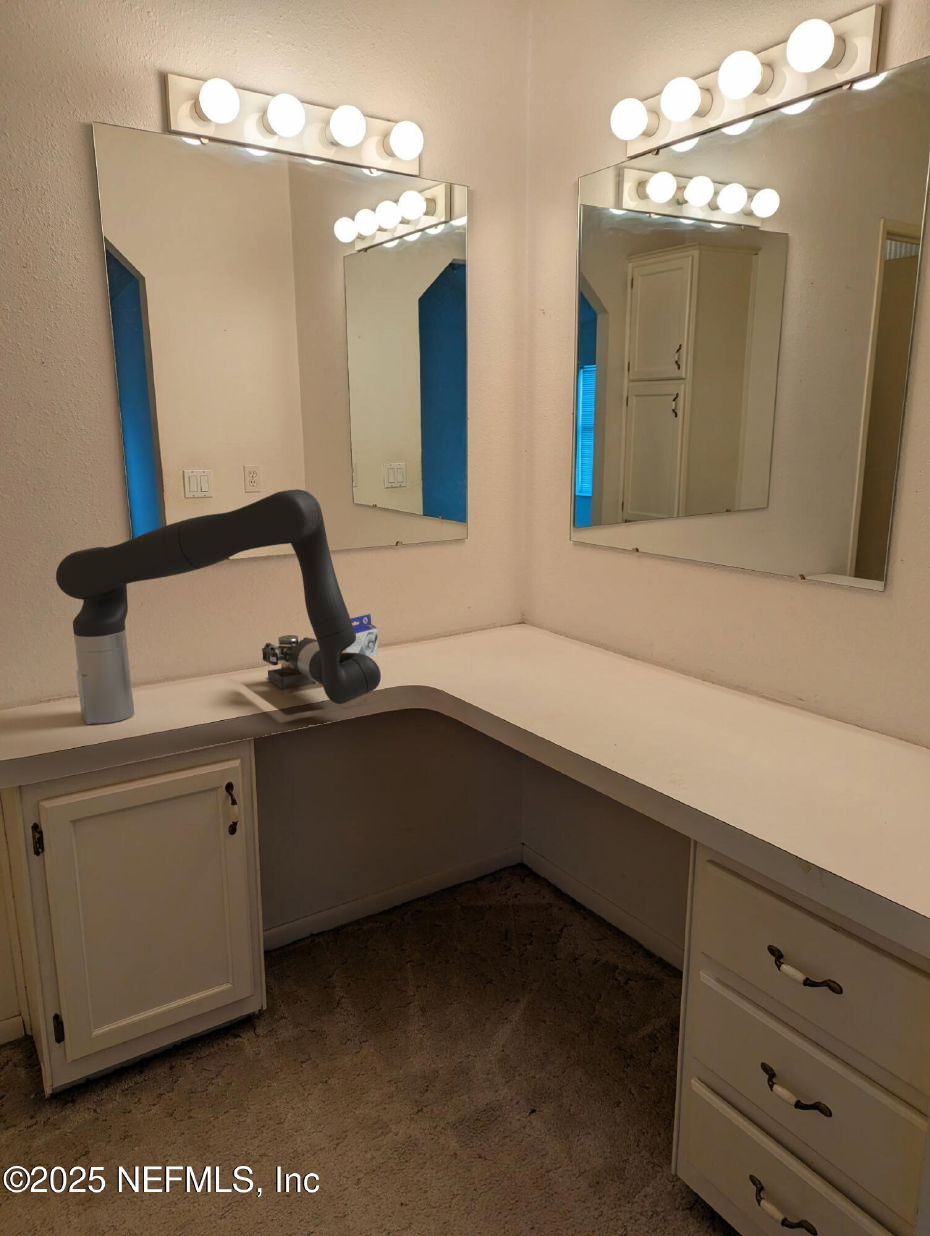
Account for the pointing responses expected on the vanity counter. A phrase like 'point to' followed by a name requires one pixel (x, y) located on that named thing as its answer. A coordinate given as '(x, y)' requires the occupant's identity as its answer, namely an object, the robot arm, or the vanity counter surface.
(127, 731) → the vanity counter surface
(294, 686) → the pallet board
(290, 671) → the billet
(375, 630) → the ink box
